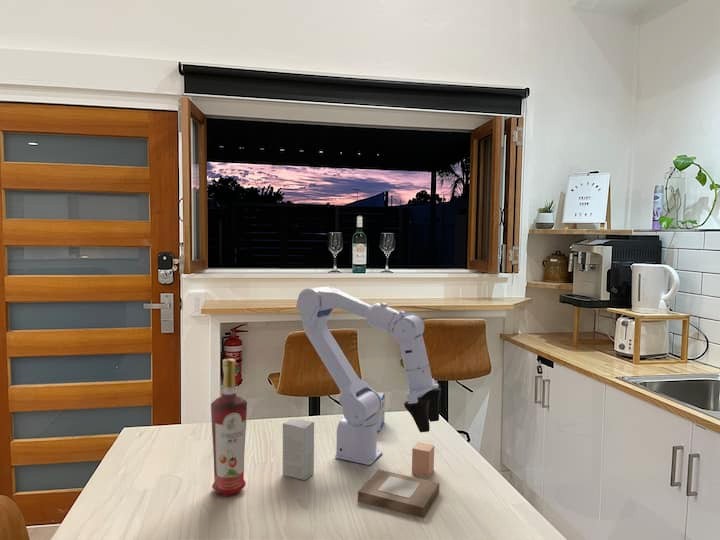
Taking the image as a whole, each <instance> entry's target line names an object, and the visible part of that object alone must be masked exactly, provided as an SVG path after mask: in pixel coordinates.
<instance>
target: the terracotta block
mask: <svg viewBox="0 0 720 540" xmlns="http://www.w3.org/2000/svg"><path fill="white" fill-rule="evenodd" d="M411 450H412V453H411V456H412V457H411V474H412V473H413V475H415V474H418V475H417V476H420V475H422V476H421V477H424V476H426V477H425V478H429V477H430V476H431V475H432V473H433V472H434V471H435V444H430V443H424V442H419V441H417V442H416V443H415V445H413V447H412V449H411ZM430 474H431V475H430Z"/></svg>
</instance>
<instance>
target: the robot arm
mask: <svg viewBox="0 0 720 540" xmlns="http://www.w3.org/2000/svg"><path fill="white" fill-rule="evenodd" d="M295 308H296V309H297V311H298V313H299V314H300V318H301V319H300V320H301V323H302V328H303V331H304V333H305V335H306V336H307V338H308V341H310V343H311V345H312V347H313V348H314V350H315V351H316V353H317V355H318V356H319V358H320V360H321V362H322V363H323V364H324V367H325V368H326V370H327V371H328V373H329V374H330V376H331V378H332V379H333V381H334V383H335V384H336V385H337V388H338V390H339V397H338V402H339V404H340V406H341V409H342V414H343V416H344V417H342V418H341V419H340V420H339V421H338V424H337V428H336V449H335V450H336V452H335V453H336V454H335V455H334V457H335V458H336V459H341V460H344V461H348V462H349V461H350V462H354V463H359V464H362V465H365V466H366V465H367V466H370V465H372V464H373V463H375V461H376V460H377V459H378V458H379V457H380V456H381V455H382V454H383V451H382V450H379V449H377V441H378V440H377V437H378V436H377V435H378V431H377V412H379V411H380V409H381V406H382V400H381V397H380V396H379V394H378V393H377V391H376V390H374V389H373V388H372V387H371V386H370V385H369V383H368V382H367V381H365V380H363V379H361V378H359V376H358V374H357V373H356V372H355V370H354V368H353V366H352V365H351V363H350V362H349V360H348V359H347V357H346V355H345V354H344V352H343V350H342V348H341V347H340V345H339V344H338V342H337V341H336V339H335V338H334V335H332V332H331V331H330V329H329V328H328V320H329V318H330V317H331V314H332V312H333V310H334V309H340V310H343V311H346V312H349V313H351V314H353V315H357V316H360V317H362V318H365V320H366V322H367V324H368V325H369V326H371V327H373V328H375V329H377V330H379V331H382V332H383V333H386V334H389V335H391V336H392V337H393V338H394V340H395V341H397V343H398V345H399V348H400V353H401V358H402V364H403V367H404V371H405V377H406V381H407V382H406V383H407V386H408V388H407V389H408V390H407V391H408V392H407V395H406V398H407V401H405V402H404V403H403V405H404V408H405V409H406V410H407V411H408V413H409V414H410V415H411V418H412V420H413V421H414V423H415V425H416V426H417V427H416V428H417V429H418V431H419V433H428V432H429V431H430V428H431V427H430V423H431V422H439V420H440V399H441V394H442V388H441V387H440V384H439V383H436V381H435V378H433V377H432V371H431V366H430V363H429V358H428V354H427V353H428V352H427V348H426V345H425V340H424V336H423V333H424V332H425V327H426V326H425V323H424V321H423V320H422V318H421V317H420V316H419V315H417V314H416V313H410V314H407V315H406V311H404V310H397V309H394V308H392V307H390V306H388V303H386V302H385V301H384V302H376V303H374V304H372V305H371V304H369V303H367V302H365V301H363V300H361V299H358V298H356V297H355V296H352V295H351V294H348V293H346V292H344V291H342V290H341V289H339V288H335V287H331V286H330V285H323V286H317V287H313V288H309V287H308V288H304V289H303V290H301V291H300V293H299V294H298V297H297V301H296V306H295Z"/></svg>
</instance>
